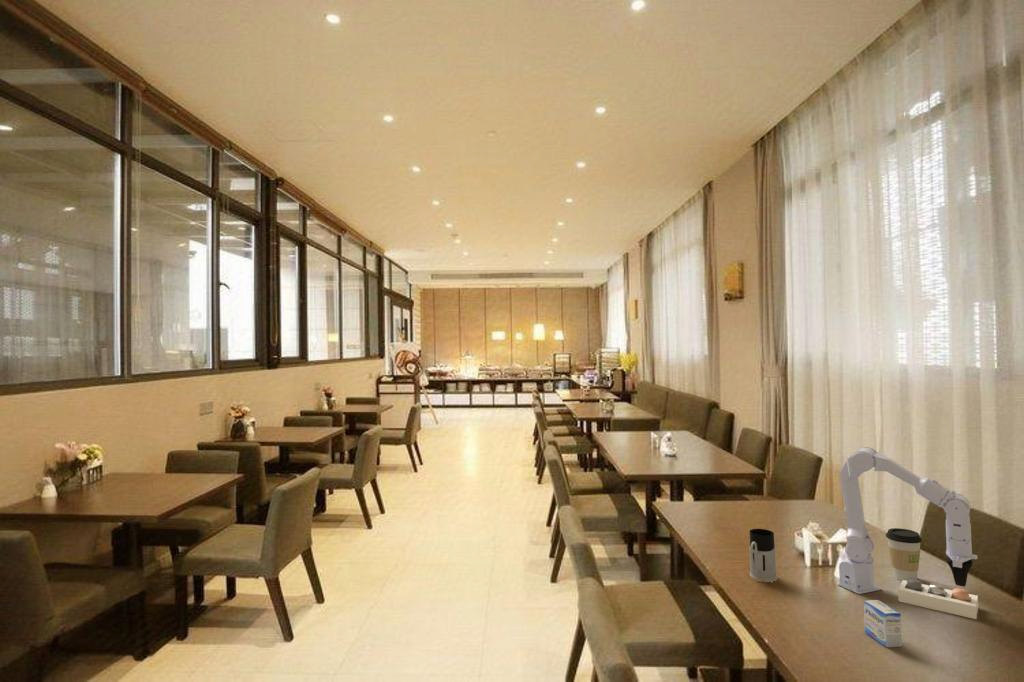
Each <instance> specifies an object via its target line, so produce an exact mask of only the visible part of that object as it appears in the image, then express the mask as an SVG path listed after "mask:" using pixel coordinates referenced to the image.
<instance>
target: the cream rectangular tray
mask: <svg viewBox="0 0 1024 682" xmlns="http://www.w3.org/2000/svg"><path fill="white" fill-rule="evenodd" d="M897 594H898V595H897V596H898V602H899V603H900V602H901V603H905V604H909V605H913V606H918V607H922V608H926V609H931V610H934V611H939V612H942V613H943V612H944V613H948V614H951V615H956V616H961V617H964V618H970V619H973V620H977V618H978V612H979V596H978V595H977V594H976V595H975V594H973V593H972V594H971V593H969V602H966V601H961V600H957V599H953V589H948V588H945V597H943V596H938V595H934V594H930V587H929V585H928V584H924V583H922V592H920V591H915V590H911V589H907V581H906V580H902V581H901V583H900V584H899V587H898V589H897Z"/></svg>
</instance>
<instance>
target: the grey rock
mask: <svg viewBox="0 0 1024 682" xmlns="http://www.w3.org/2000/svg"><path fill="white" fill-rule="evenodd" d="M929 587H930V594H934V595H938V596H943V597H945V589H946V587H945V586H944V585H943V584H940V583H936V582H935V583H934V582H930V583H929Z"/></svg>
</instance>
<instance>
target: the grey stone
mask: <svg viewBox="0 0 1024 682" xmlns="http://www.w3.org/2000/svg"><path fill="white" fill-rule="evenodd" d="M922 584H923V583H922V580H919V579H918V578H917V579H907V589H911V590H915V591H920V592H922Z"/></svg>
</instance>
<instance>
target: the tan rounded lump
mask: <svg viewBox="0 0 1024 682" xmlns="http://www.w3.org/2000/svg"><path fill="white" fill-rule="evenodd" d="M952 590H953V599H957V600H961V601H966V602H969V594H970V592H969V590H967V589H964V588H960V587H954V588H952Z"/></svg>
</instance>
